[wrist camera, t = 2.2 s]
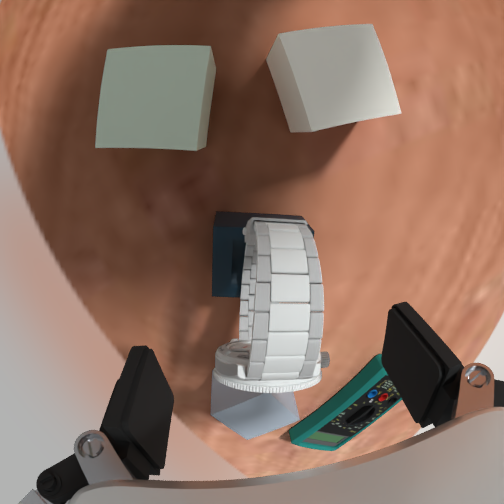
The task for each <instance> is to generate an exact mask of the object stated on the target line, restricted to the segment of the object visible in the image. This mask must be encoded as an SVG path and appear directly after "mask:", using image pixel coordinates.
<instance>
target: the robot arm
mask: <svg viewBox="0 0 504 504" xmlns="http://www.w3.org/2000/svg"><path fill="white" fill-rule="evenodd" d="M381 362H382V365H383V367H384V369H385V371H386V372H387V374H388V376H389V377H390V379H391V381H392V383H393V384H394V386H395V388H396V389H397V391H398V393H399V395H400V396H401V398H402V400H403V402H404V403H405V405H406V407H407V409H408V410H409V412H410V414H411V416H412V418H413V419H414V421H415V422H416V423H419V424H420V425H421V427H422V428H424V427H426V426H428V425H430V424H432V423H433V425H434V426H435V428H433V429H431V430H428V431H426V432H424V433H421V434H419V435H417V436H414V437H412V438H409V439H407V440H404V441H402V442H399V443H397V444H394V445H391V446H389V447H386V448H383V449H380V450H377V451H374V452H371V453H368V454H365V455H362V456H359V457H355V458H352V459H348V460H345V461H341V462H337V463H333V464H329V465H325V466H321V467H317V468H312V469H307V470H302V471H297V472H291V473H285V474H279V475H272V476H265V477H256V478H247V479H236V480H219V481H160V480H148V479H149V475H160V469H163V468H164V466H165V458H166V451H167V444H168V437H169V430H170V423H171V416H172V410H173V403H174V396H173V393H172V391H171V389H170V387H169V385H168V382H167V380H166V378H165V376H164V374H163V372H162V370H161V367H160V365H159V363H158V361H157V358H156V356H155V354H154V351H153V350H152V349H149V348H148V347H147V346H133V347H132V348H131V350H130V353H129V355H128V358H127V360H126V363H125V366H124V368H123V371H122V373H121V376H120V379H119V380H117V382H116V384H115V387H114V390H113V393H112V395H111V398H110V401H109V404H108V407H107V410H106V412H105V415H104V418H103V421H102V424H101V427H100V430H99V431H97V430H89V431H87V432H84V433H82V434H81V435H80V436H79V437H78V438H77V439H76V441H75V444H74V452H75V453H74V454H73V455H71V456H69V457H68V458H66V459H64V460H62V461H61V462H59V463H57V464H55V465H53V466H52V467H50V468H48V469H46V470H44V471H43V472H42V473H41V474H40V475H39V477H38V479H37V490H36V491H35V490H33V489H32V490H31V491H30V492H29V493H28V494H27V495H26V496H25V497H24V498H23V499H22V500H21V501H20V502H19V504H504V381H499V380H494V374H493V372H492V371H491V369H490V368H489V367H487V366H486V365H484V364H481V363H471V364H469V365H467V366H465V368H464V366H463V365H462V363H461V361H460V360H459V359H458V358H457V357H456V356H455V354H454V353H453V352H452V351H451V350H450V349H449V347H448V346H447V345H446V344H445V343H444V342H443V341H442V339H441V338H440V337H439V336H438V335H437V334H436V333H435V332H434V331H433V329H432V328H431V327H430V326H429V325H428V324H427V323H426V322H425V321H424V320H423V318H422V317H421V316H420V315H419V314H418V313H417V312H416V311H415V310H414V309H413V308H412V307H411V306H410V305H409V304H408V303H407V302H402V303H398V304H395V305H393V306H392V309H390V310H389V312H388V319H387V326H386V333H385V339H384V345H383V351H382V356H381Z"/></svg>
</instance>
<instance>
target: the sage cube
mask: <svg viewBox="0 0 504 504" xmlns="http://www.w3.org/2000/svg"><path fill="white" fill-rule="evenodd" d="M215 74H216V66H215V62H214V57H213V53H212V49H211V46H199V45H156V46H137V47H125V48H115V49H108V50H107V55H106V60H105V66H104V72H103V78H102V84H101V91H100V99H99V107H98V117H97V128H96V142H95V148H155V149H177V150H193V151H197V150H199V149H202V148H204V147H206V143H207V134H208V126H209V118H210V110H211V102H212V95H213V88H214V81H215Z"/></svg>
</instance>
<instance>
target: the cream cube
mask: <svg viewBox="0 0 504 504" xmlns="http://www.w3.org/2000/svg"><path fill="white" fill-rule="evenodd" d="M266 61H267V64H268V67H269V69H270V72H271V75H272V78H273V81H274V84H275V87H276V90H277V92H278V95H279V98H280V101H281V104H282V108H283V111H284V114H285V117H286V120H287V123H288V126H289V130H290V132H314V131H318V130H322V129H326V128H330V127H335V126H339V125H343V124H348V123H353V122H358V121H363V120H368V119H373V118H378V117H384V116H389V115H395V114H401V110H400V106H399V102H398V99H397V95H396V91H395V88H394V84H393V81H392V78H391V74H390V71H389V68H388V65H387V62H386V59H385V56H384V53H383V50H382V48H381V45H380V42H379V40H378V37H377V34H376V32H375V29H374V27H373V24H358V25H341V26H330V27H320V28H312V29H305V30H298V31H292V32H286V33H280V34H278V36H277V38H276V40H275V42H274V44H273V46H272V48H271V50H270V52H269V54H268V56H267V58H266Z"/></svg>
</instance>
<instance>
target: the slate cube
mask: <svg viewBox="0 0 504 504" xmlns="http://www.w3.org/2000/svg"><path fill="white" fill-rule="evenodd" d="M213 371H214V370H212V389H211V416H213V417H214V418H216V419H217V420H218V421H220V422H221V423H223V424H224V425H226V426H227V427H229V428H230V429H232V430H233V431H235V432H236V433H238V434H239V435H241V436H242V437H244V438H245V439H247V440H248V439H251V438H254V437H257V436H260V435H262V434H265V433H268V432H271V431H273V430H276V429H278V428H281V427H283V426H286V425H288V424H291V423H293V422H296V421H298V420H300V419H299V414H298V410H297V406H296V401H295V397H294V393H293V392H285V393H258V392H249V391H244V390H239V389H235V388H232V387H229V386H226V385H224V384H222V383H220V382H218V381H217V380H216V379H215V378H214V375H213Z"/></svg>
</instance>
